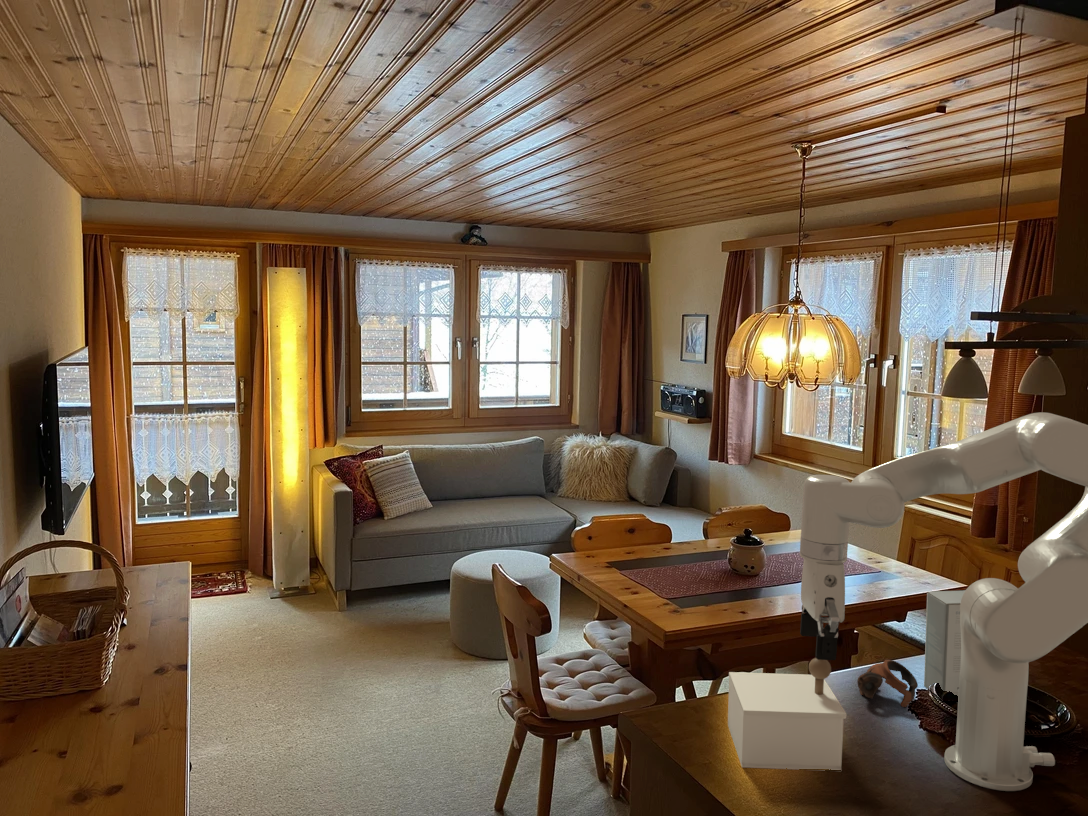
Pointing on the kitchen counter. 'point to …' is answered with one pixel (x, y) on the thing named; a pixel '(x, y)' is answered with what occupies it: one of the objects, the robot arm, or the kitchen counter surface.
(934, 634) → the hard drive box
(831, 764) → the carton
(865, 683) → the broken clay pot
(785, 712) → the carton lid
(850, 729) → the kitchen counter surface
